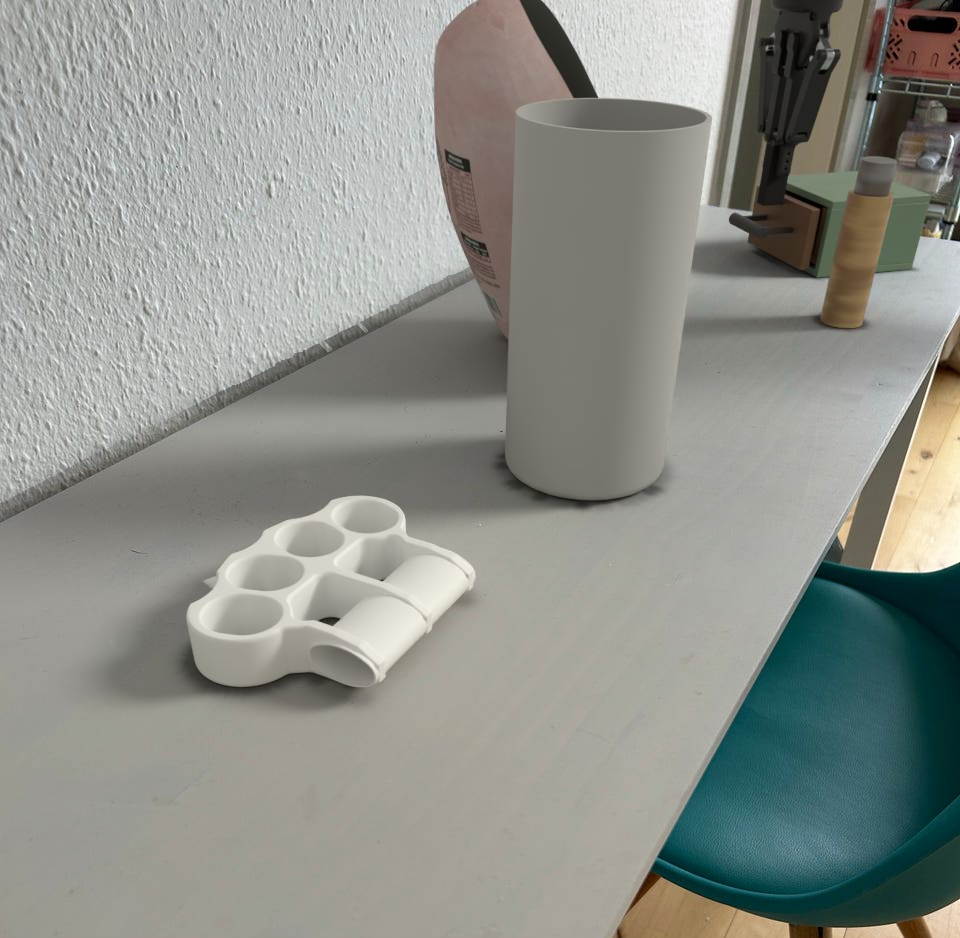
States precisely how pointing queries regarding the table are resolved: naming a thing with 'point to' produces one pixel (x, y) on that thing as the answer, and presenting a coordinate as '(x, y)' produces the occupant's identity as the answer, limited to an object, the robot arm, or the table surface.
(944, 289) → the table surface
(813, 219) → the drawer
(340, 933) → the table surface
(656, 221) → the cylinder vase
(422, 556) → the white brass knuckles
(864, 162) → the salt mill
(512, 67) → the packaged food
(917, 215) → the cabinet
